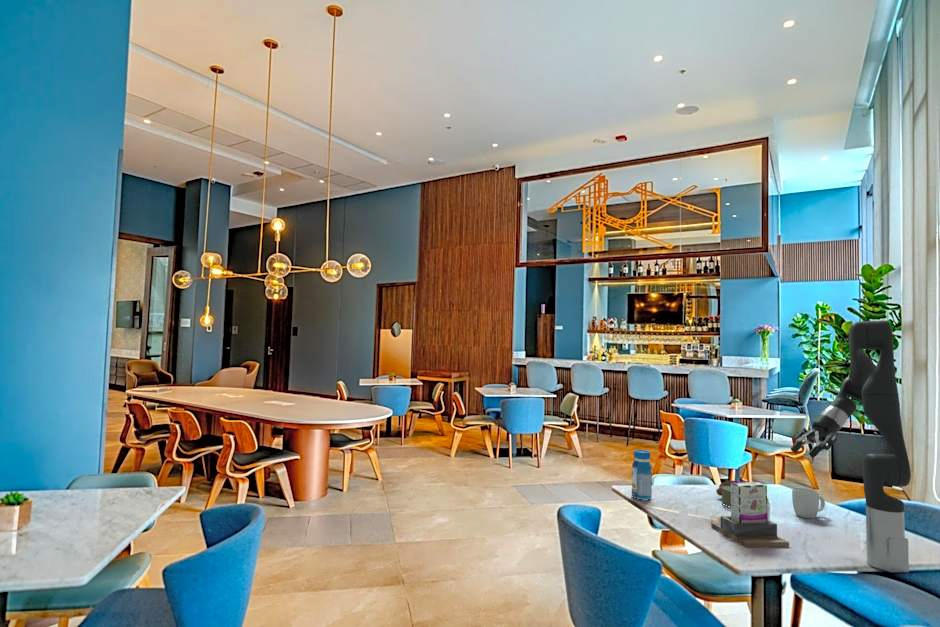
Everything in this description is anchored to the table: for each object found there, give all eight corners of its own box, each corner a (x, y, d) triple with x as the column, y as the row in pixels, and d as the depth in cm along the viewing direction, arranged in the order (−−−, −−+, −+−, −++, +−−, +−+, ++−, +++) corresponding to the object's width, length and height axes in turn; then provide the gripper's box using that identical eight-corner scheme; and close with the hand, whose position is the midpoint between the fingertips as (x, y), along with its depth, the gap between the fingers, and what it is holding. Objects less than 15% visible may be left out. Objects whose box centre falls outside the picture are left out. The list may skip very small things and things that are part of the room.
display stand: (789, 546, 175) (789, 529, 175) (747, 547, 173) (747, 530, 173) (749, 526, 195) (749, 511, 195) (711, 527, 193) (711, 511, 193)
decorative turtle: (756, 500, 232) (755, 482, 232) (726, 504, 228) (726, 486, 228) (739, 493, 241) (738, 476, 241) (711, 497, 237) (710, 479, 237)
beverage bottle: (645, 502, 223) (646, 453, 225) (627, 497, 230) (628, 450, 231) (655, 498, 229) (656, 451, 230) (637, 494, 235) (638, 448, 237)
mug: (804, 520, 206) (804, 493, 206) (787, 512, 215) (786, 487, 215) (833, 519, 208) (833, 493, 209) (814, 512, 217) (814, 487, 217)
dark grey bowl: (714, 502, 227) (714, 486, 227) (737, 501, 230) (737, 484, 231) (736, 510, 215) (736, 493, 216) (760, 509, 219) (760, 492, 220)
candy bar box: (757, 529, 188) (757, 481, 189) (768, 533, 183) (768, 485, 184) (729, 530, 186) (729, 481, 187) (739, 534, 181) (739, 485, 182)
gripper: (808, 411, 198) (780, 442, 196) (839, 416, 184) (810, 449, 182) (821, 426, 198) (793, 457, 196) (853, 431, 184) (824, 465, 182)
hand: (801, 453), depth 189 cm, fingers open, 8 cm apart
